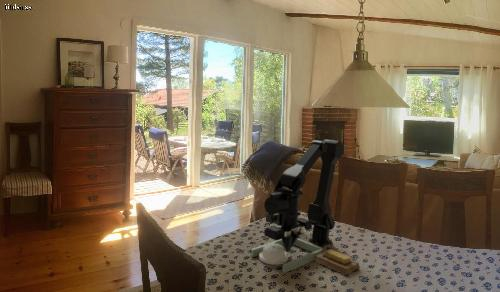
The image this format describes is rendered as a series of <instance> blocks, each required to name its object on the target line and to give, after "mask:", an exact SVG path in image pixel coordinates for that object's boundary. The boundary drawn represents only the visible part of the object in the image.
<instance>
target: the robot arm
mask: <svg viewBox="0 0 500 292" xmlns="http://www.w3.org/2000/svg"><path fill="white" fill-rule="evenodd" d="M344 150H345V147H344V145H343V143H342V141H341V140H340V141H339V140H333V139H323V140H318V139H315V140H312V141H311V144H310V146H309V147H308V149H307V150H306V151H305V152H304V153H303V155H302V156H301V157H300V158H299V160H297V162H296V164H294V165H293V166H291V167H288V168H287V169H285V170H284V171H283V172H282V173H281V175H280V177H279V179H278V181H277V183H276V185H275V186H274V189H273V192H274V193H273V192H272V193H269V197H267V198H266V199H265V201H264V204H263V206H264V209H265V212H266V213H265V222H266V223H268V224H269V225H271V226H268V227H265V229H264V232H263V233H264V236H265V237H267V238H269V239H271V240H274V241H276V240H280V239H282V241H283V244H284V246H283V247H285V253H290V252H291V249H292V248H293V246H295V245H294V243H295V241H296V240H297V238H299V237H300V235H302V232H301V231H299V230H298V228H299V229H300V228H304V230H305V231H309V230H312V232H311V233H312V234H311V235H312V236H311V237H312V238H309V239H308V242H311V243H315V244H317V245H320V246H325V245H326V244H329V243H332V242H333V240H332V239H330V230H334V228H335V225H336V221H335V220H334V218H333V216H332V208H331V204H330V197H331V192H332V191H331V190H332V185H333V180H334V174H335V168H336V165H337V164H338V162H339V161H340V160H341V158H342V156H343V153H344ZM319 158H320V160H321V168H320V174H319V179H318V182H317V183H318V185H317V190H316V195H315V199H314V200H313V202H311V203H309V204H308V209H307V212H306V214H307V219H306V218H303V217H300V216H301V214H302V213H301V211H299V206H300V205H299V203H300V196H302V195H304V193H303V191H302V189H301V188H303V186H304V185H305V183H306V181H307V177H306V176H307V174H308V173H309V171H310V170H311V168H312V167H313V166H314V165H315V163H316V162H317V161H318V159H319ZM300 189H301V190H300ZM272 224H276V225H272ZM278 226H280V227H278Z"/></svg>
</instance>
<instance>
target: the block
mask: <svg viewBox="0 0 500 292" xmlns="http://www.w3.org/2000/svg"><path fill="white" fill-rule="evenodd" d="M325 258H327V259H330V260H332V261H334V262H337V263H339V264H342V265H344V266H347V265H349V264H350V259H351V258H352V257H351V256H350V255H349V256H348V255H346V254H343V253H341V252H339V251H336V250H334V249H327V250H326V251H325Z"/></svg>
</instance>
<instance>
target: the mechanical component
mask: <svg viewBox="0 0 500 292" xmlns="http://www.w3.org/2000/svg"><path fill="white" fill-rule="evenodd" d="M266 244H267V243H266ZM263 245H264V246H263V251H261V252H260V253H259V255H258V258H259V260H260V261H261V262H262V263H265V264H267V265H272V266H273V265H277V266H278V265H283V264H285V263H288V260H289V255H288V254H287V252H286V251H285V247H284V246H283V245H279V244H276V243H275V244H274V243H272V244H267V245H265V244H263Z"/></svg>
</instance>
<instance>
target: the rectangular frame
mask: <svg viewBox="0 0 500 292" xmlns="http://www.w3.org/2000/svg"><path fill="white" fill-rule="evenodd" d="M314 262H316V263H319V264H320V265H323V266H325V267H328V268H329V269H332V270H334V271H335V272H338V273H341V274H342V275H346V276H347V275H349V274H351V273H353V272H355V271H356V270H358V269H359V268H360V262H358V261H356V260H353V259H351V258H350V264H349V265H347V266H344V265H342V264H339V263H337V262H334V261H332V260H330V259H327V258H325V252H323V253H321V254H319V255H316V256H315V260H314Z"/></svg>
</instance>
